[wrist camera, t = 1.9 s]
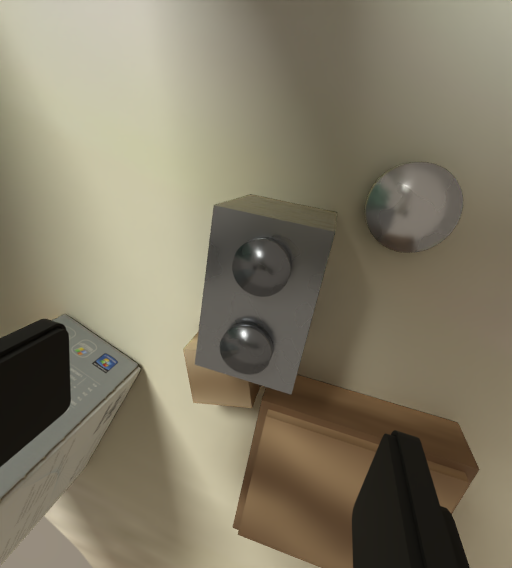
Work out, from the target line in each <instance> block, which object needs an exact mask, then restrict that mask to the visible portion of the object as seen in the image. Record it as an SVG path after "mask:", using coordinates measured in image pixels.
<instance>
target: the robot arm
mask: <svg viewBox="0 0 512 568" xmlns="http://www.w3.org/2000/svg"><path fill="white" fill-rule="evenodd" d="M70 403H71V386H70V353H69V333H68V331H66V327H65V326H64V325H63V324H61V323H58V322H55V321H52V320H48V319H41V320H39V321H36V322H34V323H32V324H30V325H28V326H26V327H24V328H22V329H19V330H17V331H15V332H13V333H11V334H9V335H7V336H4V337H2V338H0V467H1V466H2V465H4V464H5V463H6V462H7V461H8V460H10V459H11V458H12V457H13V456H14V455H15V454H17V453H18V452H19V451H20V450H21V449H23V448H24V447H25V446H26V445H27V444H28V443H30V442H31V441H32V440H33V439H34V438H36V437H37V436H38V435H39V434H40V433H41V432H43V431H44V430H45V429H46V428H47V427H49V426H50V425H51V424H52V423H53V422H54V421H56V420H57V419H58V418H59V417H60V416H62V415H63V414H64V413H65V412H66V411H67V409H68V408H69V406H70ZM352 548H353V568H470V567H469V564H468V561H467V558H466V555H465V552H464V549H463V546H462V543H461V540H460V537H459V534H458V531H457V528H456V524H455V521H454V519H453V517H452V514H451V513H450V511H449V510H448V509H447V508H445V507H442V506H440V504H439V500H438V497H437V494H436V490H435V487H434V484H433V480H432V477H431V474H430V470H429V467H428V463H427V460H426V457H425V453H424V450H423V447H422V443H421V441H420V439H419V438H418V437H415V436H412V435H409V434H406V433H403V432H400V431H397V430H394V431H393V432H392V433H391V435H389V434H386V433H385V434H384V435H383V437H382V439H381V441H380V444H379V446H378V449H377V451H376V453H375V456H374V458H373V461H372V463H371V465H370V468H369V470H368V473H367V475H366V477H365V480H364V482H363V485H362V487H361V489H360V492H359V494H358V497H357V499H356V501H355V504H354V507H353V512H352Z"/></svg>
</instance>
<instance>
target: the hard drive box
mask: <svg viewBox="0 0 512 568" xmlns="http://www.w3.org/2000/svg"><path fill="white" fill-rule="evenodd" d="M52 321H55V322H58V323H61V324H63V325H64V326H65V327H66V331H68V333H69V353H70V386H71V403H70V406H69V408H68V409H67V411H66V412H65V413H64V414H63V415H62V416H60V417H59V418H58V419H57V420H56V421H54V422H53V423H52V424H51V425H50V426H49V427H47V428H46V429H45V430H44V431H43V432H41V433H40V434H39V435H38V436H37V437H36V438H34V439H33V440H32V441H31V442H30V443H28V444H27V445H26V446H25V447H24V448H23V449H21V450H20V451H19V452H18V453H17V454H15V455H14V456H13V457H12V458H11V459H10V460H8V461H7V462H6V463H5V464H4V465H2V466H1V467H0V566H1V565H2V564H3V563H4V562H5V560H6V559H7V558H8V557H9V556H10V555H11V554H12V552H13V551H14V550H15V549H16V548H17V547H18V545H19V544H20V543H21V542H22V541H23V539H24V538H25V537H26V536H27V535H28V534H29V533H30V531H31V530H32V529H33V528H34V527H35V526H36V524H37V523H38V522H39V521H40V520H41V519H42V517H43V516H44V515H45V514H46V513H47V512H48V510H49V509H50V508H51V507H52V506H53V505H54V503H55V502H56V501H57V500H58V499H59V498H60V496H61V495H62V494H63V493H64V492H65V491H66V489H67V488H68V487H69V486H70V485H71V484H72V482H73V481H74V480H75V479H76V478H77V477H78V475H79V474H80V473H81V472H82V470H83V469H84V468H85V467H86V465H87V463H88V461H89V459H90V458H91V456H92V454H93V453H94V451H95V449H96V447H97V446H98V444H99V442H100V440H101V438H102V436H103V435H104V433H105V432H106V430H107V428H108V426H109V425H110V423H111V421H112V419H113V417H114V416H115V414H116V412H117V410H118V409H119V407H120V405H121V404H122V402H123V400H124V399H125V397H126V395H127V393H128V392H129V390H130V388H131V386H132V384H133V382H134V381H135V379H136V377H137V375H138V373H139V372H140V370H141V368H139V367H138V364H137V363H136V362H134V361H133V360H131V359H130V358H129V357H127V356H126V355H124V354H123V353H121V352H120V351H118V350H117V349H115V348H114V347H112V346H111V345H110V344H108V343H107V342H105V341H104V340H102V339H101V338H99V337H98V336H96V335H95V334H94V333H92V332H91V331H89V330H88V329H86V328H85V327H84V326H82V325H81V324H79V323H78V322H76V321H75V320H73V319H72V318H70V317H69V316H68V315H65V314H63V315H61V316H59V317H58V318H56V319H54V320H52Z"/></svg>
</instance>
